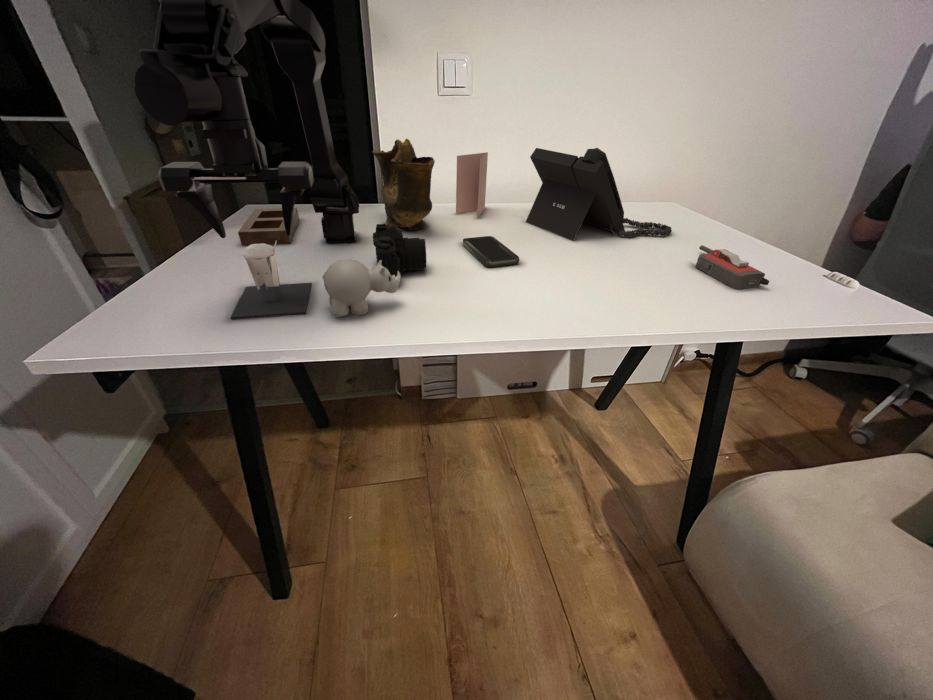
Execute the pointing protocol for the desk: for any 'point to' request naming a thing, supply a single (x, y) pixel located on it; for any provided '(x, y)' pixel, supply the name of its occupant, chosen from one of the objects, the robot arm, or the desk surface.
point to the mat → (289, 304)
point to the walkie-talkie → (729, 269)
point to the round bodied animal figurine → (356, 285)
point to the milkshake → (264, 270)
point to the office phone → (580, 195)
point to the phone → (490, 251)
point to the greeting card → (471, 182)
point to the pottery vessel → (405, 185)
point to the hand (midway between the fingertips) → (257, 236)
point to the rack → (267, 227)
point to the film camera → (398, 250)
